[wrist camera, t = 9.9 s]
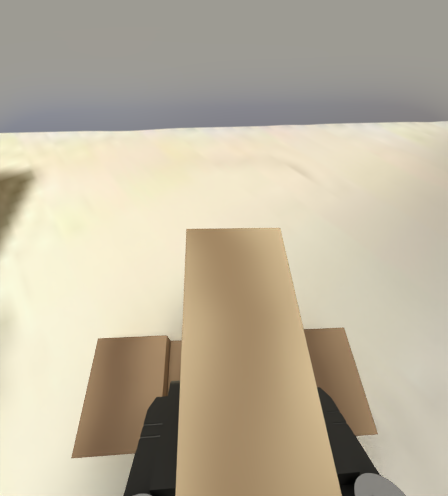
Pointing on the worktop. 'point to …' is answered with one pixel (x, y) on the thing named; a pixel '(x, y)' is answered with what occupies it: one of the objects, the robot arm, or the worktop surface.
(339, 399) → the notched beam
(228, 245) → the oak crosspiece
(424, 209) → the worktop surface
